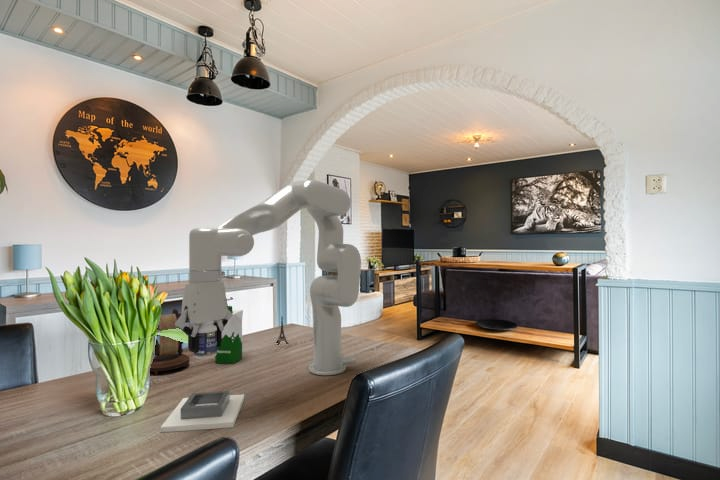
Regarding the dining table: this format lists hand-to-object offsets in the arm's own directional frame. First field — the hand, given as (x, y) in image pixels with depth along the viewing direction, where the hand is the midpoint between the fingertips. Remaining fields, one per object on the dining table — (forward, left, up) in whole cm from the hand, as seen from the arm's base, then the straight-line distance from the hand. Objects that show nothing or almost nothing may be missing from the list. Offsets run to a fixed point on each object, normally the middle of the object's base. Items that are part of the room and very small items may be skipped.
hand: (205, 348), depth 95 cm
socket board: (0, 0, -17) cm, 17 cm away
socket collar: (0, 0, -15) cm, 15 cm away
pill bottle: (0, 0, -2) cm, 2 cm away
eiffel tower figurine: (-15, -62, -17) cm, 66 cm away
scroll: (+23, -38, -17) cm, 48 cm away
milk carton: (+3, -43, -17) cm, 46 cm away
